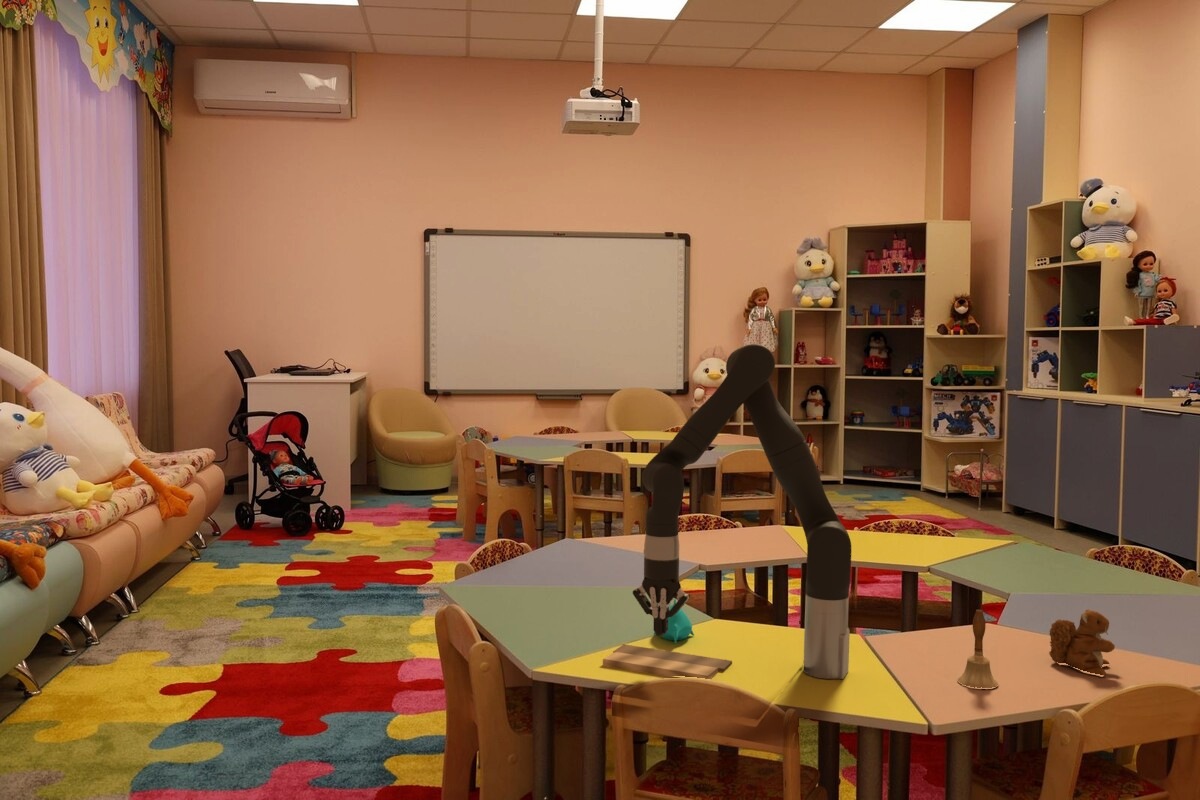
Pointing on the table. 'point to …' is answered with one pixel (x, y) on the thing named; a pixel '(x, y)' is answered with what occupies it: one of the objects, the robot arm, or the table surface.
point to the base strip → (675, 656)
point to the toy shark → (678, 626)
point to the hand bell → (978, 659)
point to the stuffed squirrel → (1081, 642)
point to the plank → (658, 666)
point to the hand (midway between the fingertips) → (660, 634)
